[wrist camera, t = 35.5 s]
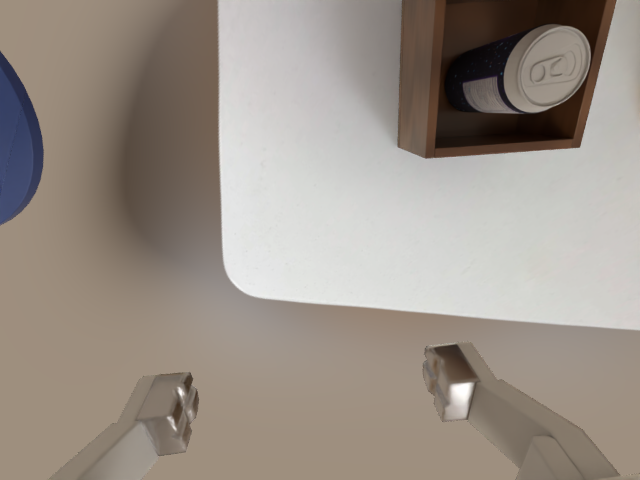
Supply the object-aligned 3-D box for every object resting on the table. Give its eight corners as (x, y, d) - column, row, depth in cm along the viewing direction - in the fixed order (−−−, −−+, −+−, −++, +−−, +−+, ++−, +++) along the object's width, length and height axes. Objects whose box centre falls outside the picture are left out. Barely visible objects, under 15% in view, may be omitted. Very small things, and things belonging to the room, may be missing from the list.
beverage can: (498, 102, 33) (595, 99, 22) (445, 119, 34) (514, 124, 22) (494, 42, 31) (599, 5, 20) (437, 60, 31) (509, 34, 20)
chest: (517, 138, 35) (580, 147, 27) (397, 147, 35) (425, 158, 27) (542, -10, 30) (630, -53, 22) (401, -1, 30) (438, -42, 22)
